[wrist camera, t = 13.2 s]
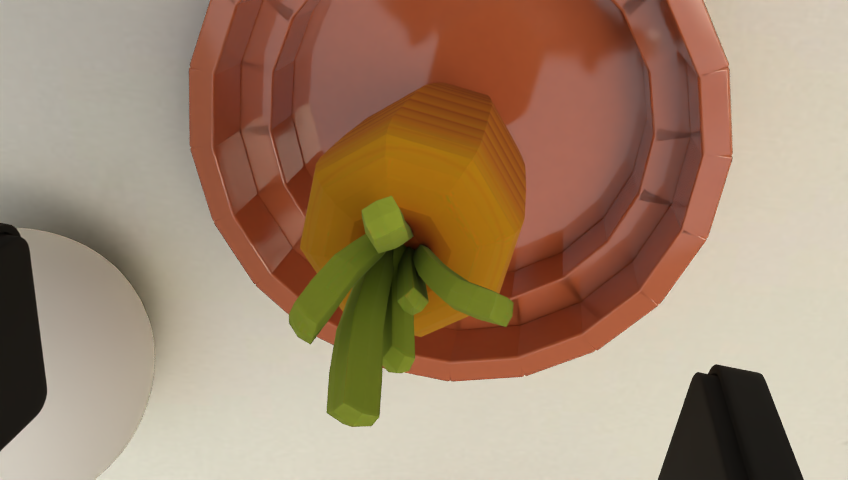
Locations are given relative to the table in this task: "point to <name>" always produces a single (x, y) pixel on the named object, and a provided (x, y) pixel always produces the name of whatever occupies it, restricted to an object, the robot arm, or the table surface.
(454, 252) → the carrot
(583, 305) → the terracotta bowl
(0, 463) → the ornament
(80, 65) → the table surface
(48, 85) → the table surface
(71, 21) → the table surface
